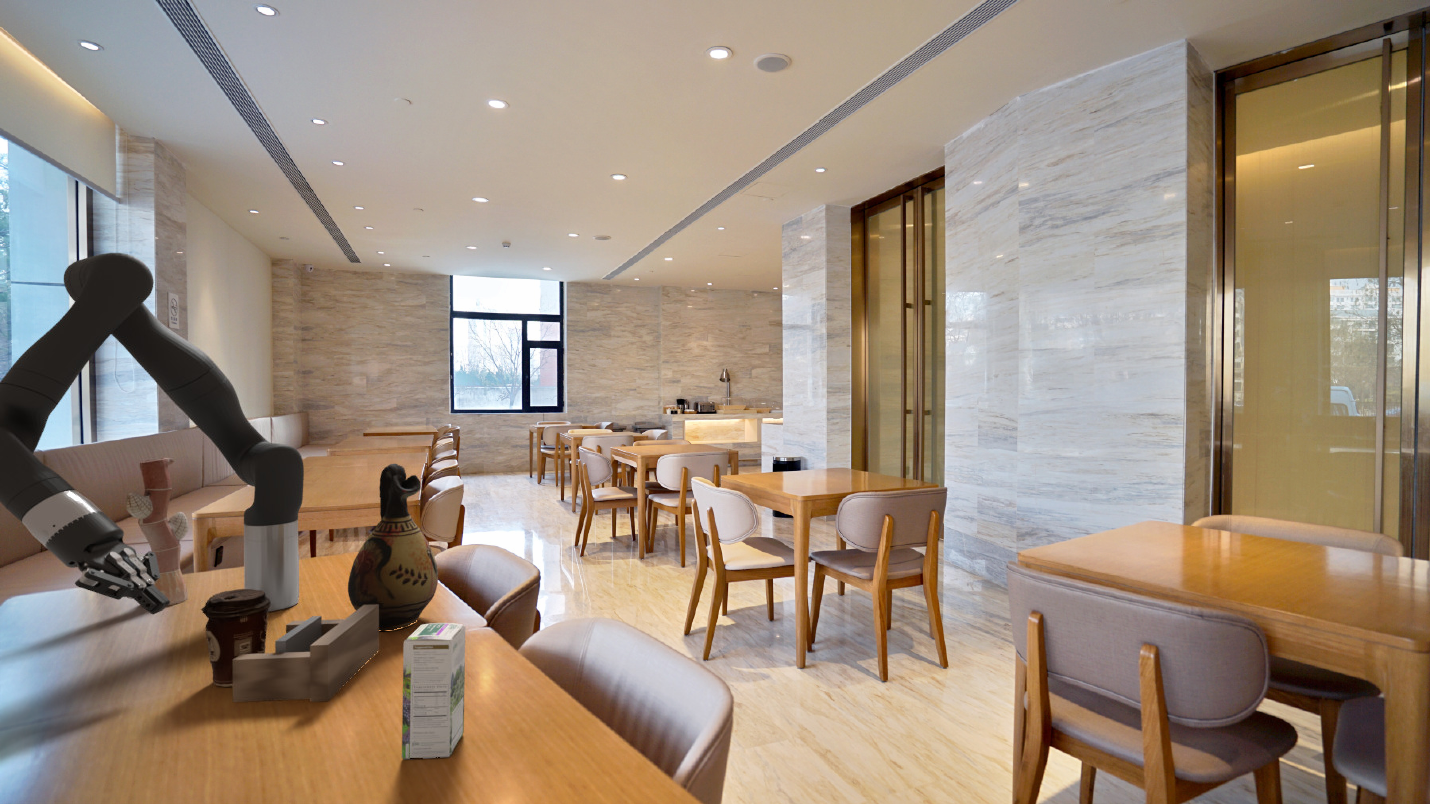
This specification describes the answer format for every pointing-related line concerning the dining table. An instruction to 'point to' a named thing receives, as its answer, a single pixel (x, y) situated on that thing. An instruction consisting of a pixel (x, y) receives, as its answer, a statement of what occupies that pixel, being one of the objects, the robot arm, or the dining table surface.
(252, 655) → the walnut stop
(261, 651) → the coffee cup
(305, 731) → the dining table surface
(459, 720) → the syrup box
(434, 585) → the ceramic jug
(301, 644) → the pad
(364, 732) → the dining table surface
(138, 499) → the vase
